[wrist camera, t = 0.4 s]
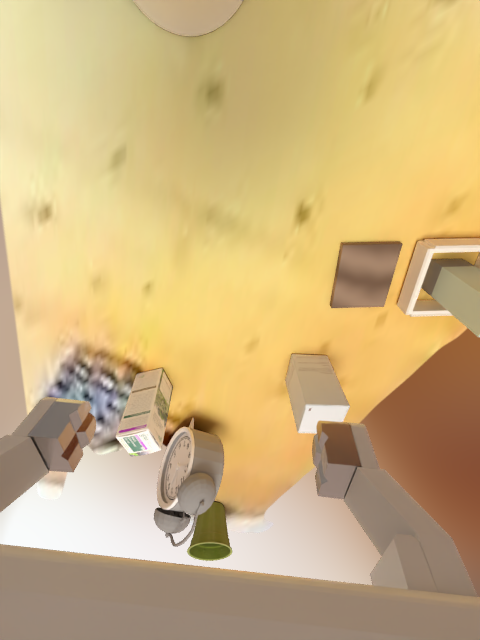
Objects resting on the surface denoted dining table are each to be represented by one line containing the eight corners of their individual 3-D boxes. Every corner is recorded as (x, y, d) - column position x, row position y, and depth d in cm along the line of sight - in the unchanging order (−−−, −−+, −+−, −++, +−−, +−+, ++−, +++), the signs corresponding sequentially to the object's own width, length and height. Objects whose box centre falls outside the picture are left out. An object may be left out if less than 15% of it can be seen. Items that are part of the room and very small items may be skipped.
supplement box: (284, 380, 62) (295, 434, 52) (291, 352, 58) (305, 404, 48) (319, 382, 63) (338, 435, 52) (328, 354, 59) (351, 406, 48)
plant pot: (191, 496, 86) (186, 542, 77) (232, 496, 87) (233, 542, 78) (191, 516, 93) (187, 561, 83) (230, 516, 94) (231, 560, 84)
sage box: (431, 259, 48) (495, 304, 37) (461, 258, 49) (536, 303, 37) (421, 287, 51) (478, 337, 40) (450, 286, 51) (515, 336, 40)
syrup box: (135, 373, 60) (112, 438, 48) (163, 366, 59) (147, 430, 47) (147, 392, 63) (128, 458, 51) (174, 386, 62) (162, 451, 50)
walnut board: (340, 242, 46) (343, 245, 46) (399, 241, 47) (402, 243, 46) (329, 304, 52) (331, 307, 52) (381, 303, 53) (383, 306, 52)
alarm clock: (194, 405, 65) (181, 517, 47) (228, 419, 68) (229, 529, 50) (160, 445, 73) (138, 555, 54) (192, 456, 75) (182, 564, 57)
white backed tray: (416, 238, 46) (479, 278, 35) (490, 236, 47) (578, 276, 35) (394, 305, 53) (442, 358, 41) (460, 304, 53) (525, 356, 42)
